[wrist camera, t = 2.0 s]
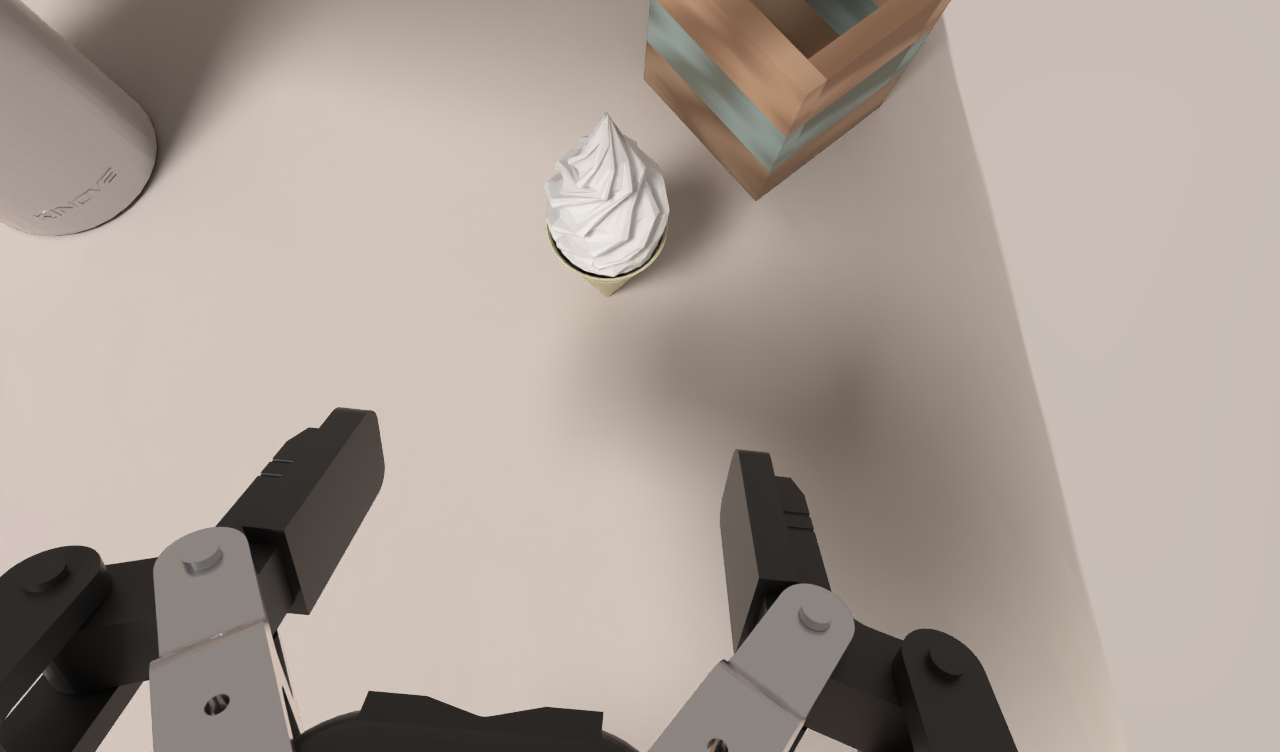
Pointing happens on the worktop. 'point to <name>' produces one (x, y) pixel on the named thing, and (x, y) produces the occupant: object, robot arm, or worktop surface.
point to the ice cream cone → (607, 209)
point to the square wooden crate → (779, 73)
